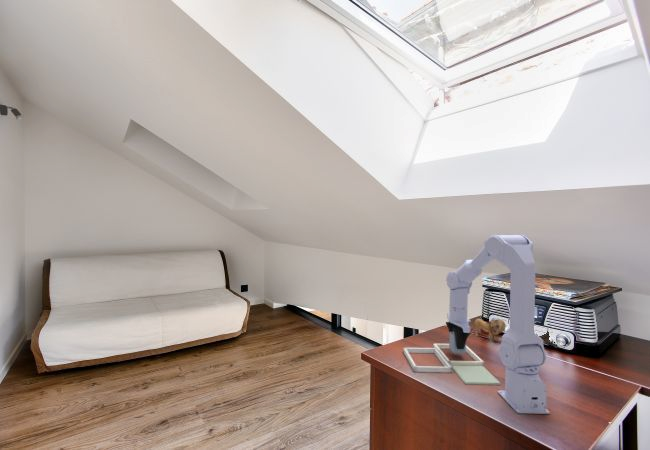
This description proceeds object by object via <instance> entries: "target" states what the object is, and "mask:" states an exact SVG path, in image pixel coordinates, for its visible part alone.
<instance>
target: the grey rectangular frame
mask: <svg viewBox="0 0 650 450" xmlns="http://www.w3.org/2000/svg"><path fill="white" fill-rule="evenodd" d="M402 352H403V353H404V355H405V358H406V359H407V361H408V363H409V365H410V366H411V368H412V370H413V371H414V373H448V374H449V373H453V369H452V367H451V366H450V365H449V363H448V362H447V361H446V360H445V359H444V357H443V356H442V355H441V354H440V352H439V351H438V350H437V349H436V348H433V347H403V348H402ZM410 353H411V354H434V355H435V356H436V358H437V359H438V360H439V361H440V362H441V364H442V365H443V366H436V365H433V366H431V365H430V366H429V365H426V366H425V365H420V366H419V365H416V363H415V361H414V360H413V358H412V356H411V354H410Z"/></svg>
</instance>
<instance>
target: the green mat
mask: <svg viewBox="0 0 650 450" xmlns="http://www.w3.org/2000/svg"><path fill="white" fill-rule="evenodd" d="M452 371H453V372H455V374H456V375H457V376H458V378H460V380H461V381H462V382H463V383H464V384H465V385H486V386H487V385H488V386H490V385H492V386H497V385H498V386H499V385H501V382H500V381H499V380H498V379H497V378H496V377H495V376H494V375H493V374H492V373H490V371H488V369H486V367H485V366H484V367H483V366H452Z"/></svg>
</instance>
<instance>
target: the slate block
mask: <svg viewBox="0 0 650 450" xmlns="http://www.w3.org/2000/svg"><path fill="white" fill-rule="evenodd" d="M448 344H449V349H448V350H450V351H451V352H452V353H453V354H463V355H464V354H466V353H467V352H466V346H467V342H466V343H465V347H464V349H457V347H456V339H455V334H454V332H450V333H449V343H448Z"/></svg>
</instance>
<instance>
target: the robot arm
mask: <svg viewBox="0 0 650 450" xmlns="http://www.w3.org/2000/svg"><path fill="white" fill-rule="evenodd" d="M493 260H496V261H498V262H499V263H501V264H502V265H504V266H506V267H507V268H508V270H510V281H509V282H510V284H509V287H510V289H509V292H510V293H509V294H510V296H509V329H508V330H507V331H506V332H505V333H504V334H503V335H502V336H501V343H500V345H499V347H498V356H499V359H500V361H501V362H502V363H503V366H504V367H505V382H504V390H502V389H501V390H500V389H499V390H497V393H498V394H499V396H501V397H502V399H504V400H505V401H506V403H508V405H509V406H511V408H512V409H513V410H514V411H515V412H516V413H518V414H538V415H539V414H540V415H541V414H544V415H546V414H547V415H548V414H550V411H549V409H548V408H547V400H548V399H547V392H548V390H547V386H546V384H545V383H544V381H543V380H542V379H541V377H540V375H539V371H541V367H542V366H543V365H545V364H546V362H547V353H546V350H545V347H544V343H543V340H542V339H541V338H540V337H539V336H538V335H537V334H535V333H534V325H535V312H536V311H535V309H536V307H535V305H536V300H535V299H536V262H535V259H534V242H533V241H532V240H530V239H529V238H528V237H527V236H526V235H525V234H509V235H508V234H499V235H498V234H491V235H490V236H489V237H488V238H487V239H486V240H485V241H484V246H483V248H482V249H481V250H480V251H479V252H478V253H477V254H476V256H475V257H474V258H473V259H466V260H464V261H463V264H462V265H460V266H459V267H458V268H457V270H456V271H448V272H447V273H448V274H446V278H445V279H446V280H445V281H446V285H447V286H448V289H449V305H448V306H449V312H448V313H446V315H447V316H446V318H447V320H448V321H446V322H445V325H446V327H447V329H448V333H449V334H450V332H454V334H455V339H456V347H457V349H464V347H465V343H466V344H467V340H468V338H469V336H470V335H471V334H472V331H471V330H470V329H471V326H470V325H469V323H471V319H469V318H468V306H469V305H468V301H469V300H468V299H469V296H468V295H469V294H470V291H471V288H472V286H473V281H474V280H475V279H477V278H478V277H479V276H480V275H482V272H483V268H484V267H485V266H486V265H488V264H489V263H491V262H492V261H493Z"/></svg>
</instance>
